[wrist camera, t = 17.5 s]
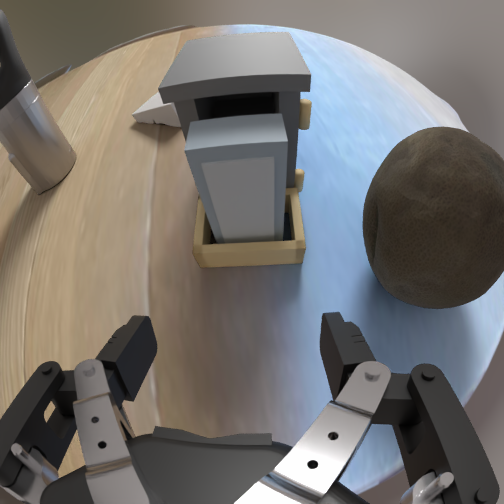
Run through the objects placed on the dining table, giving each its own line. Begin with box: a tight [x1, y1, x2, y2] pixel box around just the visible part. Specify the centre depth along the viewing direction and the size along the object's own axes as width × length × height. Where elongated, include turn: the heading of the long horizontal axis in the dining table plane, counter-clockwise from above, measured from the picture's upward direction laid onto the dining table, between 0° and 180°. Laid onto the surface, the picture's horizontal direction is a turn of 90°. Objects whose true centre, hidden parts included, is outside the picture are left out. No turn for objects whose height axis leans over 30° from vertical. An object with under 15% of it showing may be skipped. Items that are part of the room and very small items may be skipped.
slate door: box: [184, 113, 288, 244], centre depth 21 cm, size 3×6×13 cm, turn 92°
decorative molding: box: [132, 92, 181, 127], centre depth 44 cm, size 34×5×10 cm
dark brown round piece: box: [363, 127, 504, 309], centre depth 18 cm, size 14×14×15 cm
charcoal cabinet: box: [158, 32, 311, 268], centre depth 22 cm, size 17×10×15 cm, turn 1°
